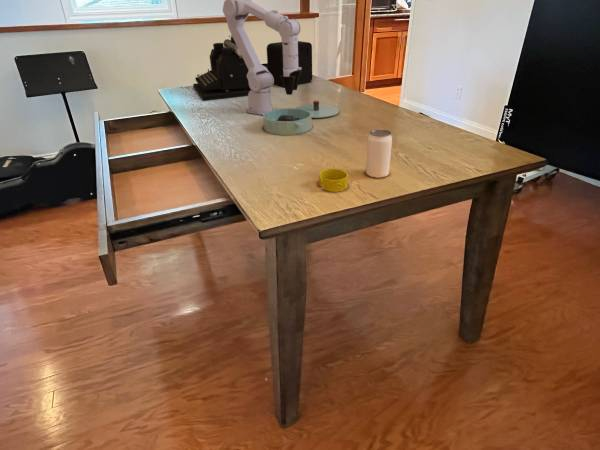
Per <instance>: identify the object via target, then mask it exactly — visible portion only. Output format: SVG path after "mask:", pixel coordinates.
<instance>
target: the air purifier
mask: <svg viewBox="0 0 600 450" xmlns="http://www.w3.org/2000/svg"><path fill="white" fill-rule="evenodd" d="M266 60H267V62H266V63H267V64H266V65H267V70H268V71H269V72H270V73H271V74H272V76H273V78H274V83H273V85H275V86H280V87H283V88H285V87H284V84H283V81H282V80H281V77H280V76H281V75H284V72H283V45H282V41H279V42H271V43H268V44H267V46H266ZM298 67H301V74H300V77H299V80H298V86H299V85H304V84H305V85H306V84H309V83H311V82H312V81H313V45H312V43H311V42H308V41H303V40H302V41H301V40H298Z"/></svg>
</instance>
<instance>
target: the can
mask: <svg viewBox="0 0 600 450" xmlns="http://www.w3.org/2000/svg"><path fill="white" fill-rule="evenodd" d="M392 146H393V137H392V132H391V131H390V130H388V129H379V128H378V129H373V130H370V131H369V135H368V138H367V150H366V162H365V163H366V165H365V166H366V168H365V173H366V175H367V176H369V177H370V178H373V179H382V178H386V177H388V176H389V174H390V169H391V157H392Z"/></svg>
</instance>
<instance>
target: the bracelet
mask: <svg viewBox="0 0 600 450" xmlns="http://www.w3.org/2000/svg"><path fill="white" fill-rule="evenodd" d="M348 183H349V174H348V173H347V172H346V171H345V170H342V169H339V168H326V169H322V170H320V172H319V173H318V187H323V190H324V191H326V192H327V191H328V192H332V193H337V192H342V191H345V190H347V189H348V187H349V185H348Z"/></svg>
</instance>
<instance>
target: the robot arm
mask: <svg viewBox="0 0 600 450" xmlns="http://www.w3.org/2000/svg"><path fill="white" fill-rule="evenodd" d="M222 13H223V14H224V17H225V19H226V22H227V28H228V30H229V32H230V34H231V35H232V36H231V37H233V39H234V41H235V43H236V45H237V47H238V49H239V51H240V53H241V55H242V57H243V59H244V61H245V63H246V66H247V68H248V70H249V71H248V74H247V78H248V82H249V87H250V88H251V91H250V92H249V93H248V96H247V103H248V110H247V113H248V114H254V115H260V116H263V115H264V114H265V113H266V112H268V111H272V110H274V109H275V108H274V109H273V108H272V91H271V90H272V87H273V86H274V84H273V83H274V78H273V76H272V74H271V73H270V72H269V71H268V67H267V66H265V65H263V64H261V62H260V59H259V58H258V55H257V52H256V51H255V48H254V47H253V44H252V42H251V40H250V38H249V36H248V34H247V32H246V29H245V27H244V25H245V23H246V21H247V19H248V17H249V15H252V16H254V17H256V18H258V19H259V20H262V21H264V24H265V26H266V27H268V28H270V29H272V30H274V31H275V32H277V33H278V34H279V36H280V38H281V42H282V45H283V72H284V75H281V76H280V77H281V80H282V81H283V84H284V87H283V88H284V91H285V93H286V95H287V96H289V95H290V96H291V95H293V91H297V90H298V86H299V85H298V80H299V77H300V74H301V67H298V41H299V40H298V38H299V37H298V35H300V34H301V33H300V32H301V24H300V22H299V21H298V20H297V19H296V18H290V19H289V17H288V16H287V15H283V14H281V13H279V10H277V9H271V10H267V9H265V8H264V7H262V6H260V5H259V4H257V3H256V2H254V1H252V0H224V1H223V5H222Z"/></svg>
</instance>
